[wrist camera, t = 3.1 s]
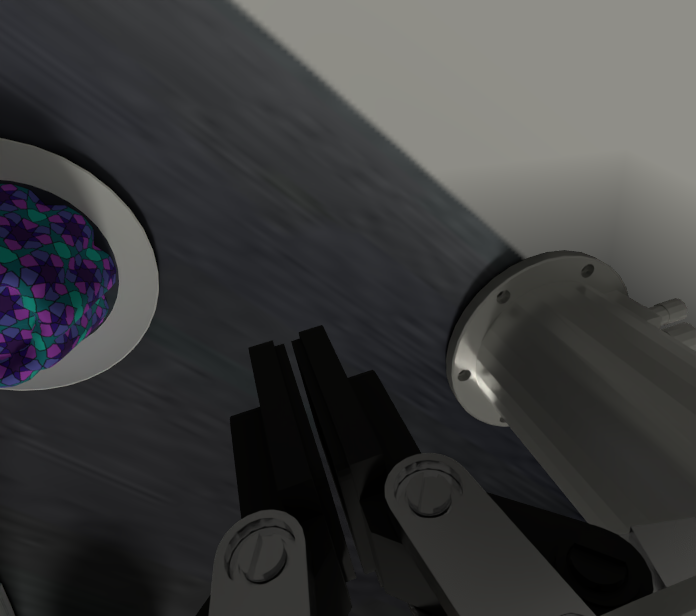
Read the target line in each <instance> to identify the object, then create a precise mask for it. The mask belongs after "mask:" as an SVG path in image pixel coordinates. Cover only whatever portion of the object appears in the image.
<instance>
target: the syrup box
mask: <svg viewBox="0 0 696 616" xmlns="http://www.w3.org/2000/svg"><path fill="white" fill-rule="evenodd" d="M0 616H15V614H14V611H13V609H12V607H11V604H10V602H9V600H8V598H7V595H6V593H5V591H4V588H3V586H2V584H1V583H0Z"/></svg>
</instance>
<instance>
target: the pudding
mask: <svg viewBox="0 0 696 616" xmlns="http://www.w3.org/2000/svg"><path fill="white" fill-rule="evenodd" d="M0 180H8V181H14V182H19V183H23V184H28V185H32V186H35V187H37V188H40V189H43V190H46V191H48V192H51V193H53V194H55V195H57V196H58V197H60V198H62V199H64V200H66V201H68V202H69V203H71V204H72V205H73V206H75V207H76V208H77V209H79V210H80V211H82V212H83V213H84V214H85V215H86V216H87V217H88V218H89V219H90V220H91V221H92V222H93V223H94V224H95V225H96V226H97V227H98V228H99V230H100V231H101V232H102V234H103V235H104V236H105V238H106V239H107V241H108V243H109V245H110V247H111V249H112V251H113V253H114V255H115V259H116V263H117V266H118V272H119V289H118V296H117V299H116V302H115V305H114V307H113V310H112V312H111V313H110V315H109V316H108V318H107V319H106V321H105V322H104V323H103V324H102V325H101V326H100V327H99V328H98V329H97V331H96V332H94V333H93V334H91V335H90V336H89V337H87V338H86V339H84V338H85V337H86V336H87V335H89V334H90V333H91V332H92V331H93V330H94V329H95V328H96V327H97V326H98V325H99V324H100V323H101V322H103V321H104V318H105V316H106V314H107V312H108V309H109V308H108V305H107V302H106V299H105V296H104V294H105V293H106V292H107V291H108V290H109V289H110V288H111V287H112V286H113V285H114V284H115V277H116V268H115V266H114V264H113V261H112V259H111V257H110V255H108V254H107V253H105V252H104V251H102V250H101V249H99V248H98V247H96V246H94V232H93V228H92V226H91V225H90V224H89V223H88V222H87V220H86V219H85V218H84V217H83V215H81V214H79V213H78V212H76V211H74V210H73V209H71V208H69V207H67V206H65V205H45V204H44V203H43V202H42V201H41V200H40V199H39V198H38V197H37V196H36V195H35V194H34V193H33V192H32V191H31V190H29V189H26V188H23V187H19V186H16V185H13V184H0V389H7V390H19V391H22V390H45V389H50V388H56V387H62V386H68V385H71V384H74V383H77V382H80V381H83V380H86V379H89V378H91V377H93V376H95V375H97V374H99V373H101V372H104V371H106V370H108V369H109V368H110V367H112V366H113V365H115V364H116V363H117V362H119V361H120V360H122V359H123V358H124V357H125V356H126V355H127V354H128V353H129V352H130V351H131V350H132V349H133V348H134V347H135V346H136V345H137V344H138V343H139V341H140V340H141V338H142V337H143V335H144V334H145V332H146V331H147V329H148V328H149V325H150V323H151V320H152V318H153V315H154V313H155V310H156V304H157V298H158V293H159V283H158V269H157V264H156V260H155V256H154V252H153V249H152V247H151V244H150V242H149V240H148V238H147V235H146V233H145V231H144V229H143V227H142V226H141V225H140V223H139V222H138V220H137V219H136V217H135V216H134V214H133V213H132V211H131V210H130V208H129V207H128V206H127V205H126V204H125V203H124V202H123V201H122V200H121V199H120V198H119V197H118V196H117V195H116V194H115V193H114V191H113V190H112V189H110V188H109V187H108V186H106V185H105V184H104V183H103V182H101V181H100V180H99V179H97V178H96V177H95V176H94V175H92V174H91V173H90V172H88V171H86V170H85V169H83V168H81V167H79V166H78V165H76V164H74V163H72V162H71V161H69V160H67V159H65V158H64V157H61V156H59V155H56V154H54V153H51V152H48V151H46V150H43V149H41V148H38V147H36V146H32V145H28V144H24V143H20V142H16V141H12V140H7V139H2V138H0ZM83 339H84V340H83ZM82 340H83V341H82Z"/></svg>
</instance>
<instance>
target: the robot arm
mask: <svg viewBox="0 0 696 616" xmlns="http://www.w3.org/2000/svg"><path fill="white" fill-rule="evenodd" d="M687 315H688V310H687V307H686V305H685V303H684V302H683V301H681V300H680V299H676V298H675V299H672V300H668V301H665V302H662V303H659V304H657V305H654V306H653V307H650V308H647V307H645V306H643V305H641V304H639V303H638V302H636V301H634V300H633V299H631V298H629V297H628V293H627V289H626V287H625V284H624V283H623V281H622V279H621V277H620V276H619V275H618V274H617V273H616V272H615V271H614V270H613V269H612V268H611V267H610V266H609V265H607V264H605V263H604V262H602V261H600V260H598V259H597V258H595V257H592V256H590V255H587V254H584V253H582V252H574V251H565V250H564V251H554V252H546V253H543V254H539V255H536V256H533V257H529V258H527V259H525V260H523V261H521V262H519V263H517V264H515V265H513V266H511V267H509V268H508V269H506V270H505V271H503V272H502V273H500V274H499V275H498V276H496V277H495V278H493V279H492V280H491V281H490V282H489V283H488V284H487V285H486V286H485V287H484V288H482V289H481V290H480V291H479V292H478V293H477V294H476V296H475V297H474V298H473V299H472V301H471V302H470V303H469V305H468V306H467V307H466V308H465V310H464V311H463V313H462V315H461V317H460V318H459V320H458V322H457V324H456V325H455V328H454V330H453V333H452V336H451V339H450V341H449V345H448V351H447V356H446V374H447V378H448V382H449V385H450V388H451V390H452V392H453V394H454V395H455V397H456V399H457V400H458V401H459V403H460V404H461V405H462V406H463V408H464V409H465V410H466V411H467V412H468V413H469V414H471V415H472V416H473V417H475V418H476V419H478V420H480V421H483V422H485V423H488V424H491V425H497V426H510V428H511V429H512V430H513V431H514V433H515V434H516V435H517V436H518V438H519V439H520V440H521V441H522V442H523V444H524V445H525V446H526V447H527V449H528V450H529V451H530V452H531V453H532V455H533V456H534V457H535V458H536V460H537V461H538V462H539V463H540V465H541V466H542V467H543V468H544V469H545V471H546V472H547V473H548V474H549V476H550V477H551V478H552V479H553V480H554V482H555V483H556V484H557V485H558V487H559V488H560V489H561V490H562V492H563V493H564V494H565V495H566V496H567V498H568V499H569V500H570V501H571V503H572V504H573V505H574V506H575V507H576V509H577V510H578V511H579V512H580V514H581V515H582V516H583V517H584V519H585V520H586V521H587V522H588V523H586V522H582V521H579V520H576V519H572V518H569V517H566V516H563V515H559V514H556V513H553V512H550V511H546V510H543V509H540V508H536V507H533V506H530V505H527V504H523V503H520V502H517V501H514V500H510V499H507V498H504V497H500V496H497V495H494V494H491V493H487V492H485V491H484V490H483V488H482V487H481V486H480V485H479V484H478V483H477V482H476V481H475V479H474V478H473V477H472V476H471V475H470V474H469V473H468V472H467V470H466V469H465V468H464V467H463V466H461V465H460V464H459V463H458V462H456V461H455V460H454V459H451V458H449V457H447V456H444V455H440V454H434V453H424V454H421V452H420V450H419V448H418V447H417V445H416V443H415V441H414V440H413V438H412V436H411V434H410V432H409V431H408V429H407V427H406V425H405V424H404V422H403V420H402V418H401V417H400V415H399V413H398V411H397V409H396V408H395V406H394V404H393V402H392V401H391V399H390V397H389V395H388V394H387V392H386V390H385V388H384V386H383V385H382V383H381V381H380V379H379V378H378V376H377V374H376V373H375V371H373V370H370V371H367V372H364V373H361V374H358V375H355V376H352V377H349V378H347V376H346V374H345V372H344V370H343V367H342V365H341V363H340V361H339V359H338V357H337V355H336V353H335V351H334V348H333V346H332V344H331V342H330V340H329V338H328V336H327V334H326V332H325V329H324V327H323V326H322V325H321V326H317V327H314V328H311V329H308V330H304V331H301V332H299V336H300V339H297V340H294V341H291V342H292V346H293V349H294V353H295V356H296V360H297V363H298V366H299V370H300V373H301V377H302V380H303V384H304V387H305V391H306V394H307V398H308V401H309V404H310V408H311V411H312V415H313V418H314V422H315V425H316V429H317V432H318V435H319V438H320V441H321V445H322V448H323V451H324V454H325V457H326V460H327V463H328V466H329V469H330V472H331V475H332V477H333V480H334V483H335V486H336V489H337V492H338V495H339V498H340V501H341V504H342V507H343V510H344V513H345V516H346V519H347V522H348V525H349V528H350V531H351V534H352V537H353V540H354V543H355V546H356V549H357V552H358V555H359V558H360V561H361V564H362V567H363V570H364V573H365V574H368V573H370V572H373V571H375V572H376V574H377V577H378V580H379V583H380V586H381V588H382V587H384V589H385V592H386V593H387V594H389V595H392V596H394V597H396V598H398V599H400V600H403V601H405V602H407V603H408V606H409V608H410V611H411V613H412V615H413V616H696V351H695V350H696V328H694V327H693V326H692V325H691V324H688V323H685V322H683V323H679V324H676V325H673V326H670V327H667V328H664V329H661V330H660V327H661V325H667V324H670V323H673V322H676V321H679V320H682V319H685V318H686V316H687ZM249 354H250V358H251V363H252V368H253V373H254V378H255V383H256V388H257V393H258V398H259V403H260V407H258V408H255V409H252V410H249V411H246V412H243V413H240V414H237V415H234V416H231V417H230V426H231V434H232V443H233V451H234V460H235V468H236V477H237V485H238V494H239V502H240V511H241V519H242V520H240V521H239V522H237V523H235V524H234V526H233V527H232V528H231V529H230V530H229V531H228V532H227V533H226V534H225V535H224V537H223V539H222V541H221V542H220V544H219V546H218V548H217V552H216V556H215V560H214V568H213V577H212V587H211V595H210V596H209V598H208V599H207V601H206V602H205V603H204V605H203V606H202V608H201V609H200V610H199V612H198V613H197V615H196V616H348V614H349V612H350V610H351V608H352V605H351V601H350V600H351V599H350V595H349V592H348V589H347V585H346V582H347V581H350V580H353V579H355V578H356V575H355V572H354V568H353V565H352V562H351V558H350V555H349V552H348V548H347V545H346V541H345V538H344V535H343V531H342V528H341V524H340V521H339V518H338V514H337V511H336V508H335V504H334V501H333V497H332V494H331V491H330V487H329V484H328V481H327V477H326V474H325V471H324V468H323V464H322V461H321V458H320V455H319V452H318V449H317V446H316V443H315V439H314V436H313V433H312V430H311V427H310V424H309V421H308V418H307V414H306V411H305V408H304V405H303V402H302V399H301V396H300V393H299V390H298V386H297V383H296V380H295V377H294V374H293V371H292V368H291V365H290V361H289V358H288V355H287V352H286V349H285V346H284V344H281V345H278V346H275V347H274V343H273V340H272V341H269V342H266V343H262V344H259V345H256V346H253V347H249Z"/></svg>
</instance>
